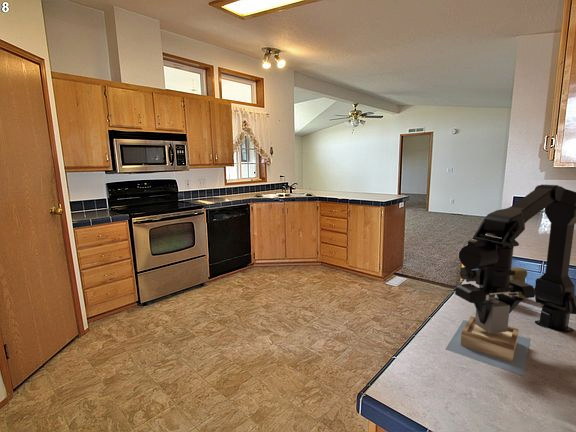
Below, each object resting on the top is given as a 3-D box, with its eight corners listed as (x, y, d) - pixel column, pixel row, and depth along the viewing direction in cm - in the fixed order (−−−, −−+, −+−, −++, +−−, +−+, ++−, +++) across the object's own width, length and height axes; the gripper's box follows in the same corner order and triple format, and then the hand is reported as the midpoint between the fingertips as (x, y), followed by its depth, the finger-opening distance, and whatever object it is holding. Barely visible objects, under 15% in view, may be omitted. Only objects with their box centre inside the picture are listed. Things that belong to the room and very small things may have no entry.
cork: (529, 301, 109) (533, 271, 107) (509, 300, 110) (513, 270, 109) (520, 294, 115) (523, 265, 113) (501, 293, 116) (505, 264, 114)
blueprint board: (463, 322, 94) (463, 320, 94) (529, 341, 84) (530, 338, 84) (444, 351, 79) (445, 348, 79) (523, 379, 69) (523, 376, 69)
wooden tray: (469, 328, 89) (470, 316, 89) (517, 342, 82) (518, 329, 82) (460, 345, 81) (461, 331, 80) (512, 362, 74) (514, 347, 73)
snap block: (490, 322, 84) (493, 294, 83) (507, 331, 79) (510, 302, 78) (474, 323, 83) (477, 296, 82) (490, 333, 78) (493, 304, 77)
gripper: (501, 253, 88) (495, 305, 90) (442, 257, 84) (438, 311, 87) (540, 265, 77) (532, 324, 79) (474, 270, 73) (468, 332, 76)
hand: (491, 322), depth 81 cm, fingers closed on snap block, 5 cm apart
